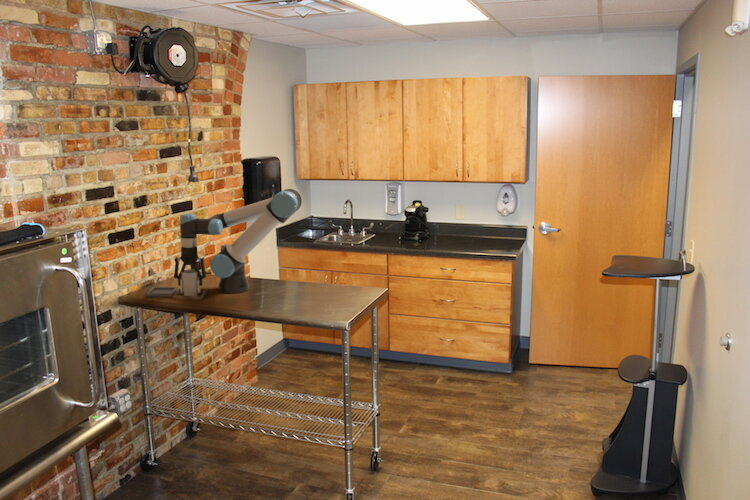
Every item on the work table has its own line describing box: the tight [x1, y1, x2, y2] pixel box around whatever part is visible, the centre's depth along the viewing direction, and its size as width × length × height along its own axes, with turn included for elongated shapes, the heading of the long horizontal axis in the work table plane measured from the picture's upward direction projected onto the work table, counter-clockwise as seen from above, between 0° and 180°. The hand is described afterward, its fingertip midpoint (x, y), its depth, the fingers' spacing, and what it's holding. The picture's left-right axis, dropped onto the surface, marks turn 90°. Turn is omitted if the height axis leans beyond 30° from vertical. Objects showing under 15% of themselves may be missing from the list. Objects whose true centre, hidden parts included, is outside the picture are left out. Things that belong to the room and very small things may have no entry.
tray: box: [146, 286, 179, 298], centre depth 299 cm, size 12×12×2 cm
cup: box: [181, 268, 199, 296], centre depth 297 cm, size 8×8×12 cm
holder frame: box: [172, 288, 208, 300], centre depth 298 cm, size 14×14×2 cm
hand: (190, 291), depth 298 cm, fingers closed on cup, 7 cm apart
